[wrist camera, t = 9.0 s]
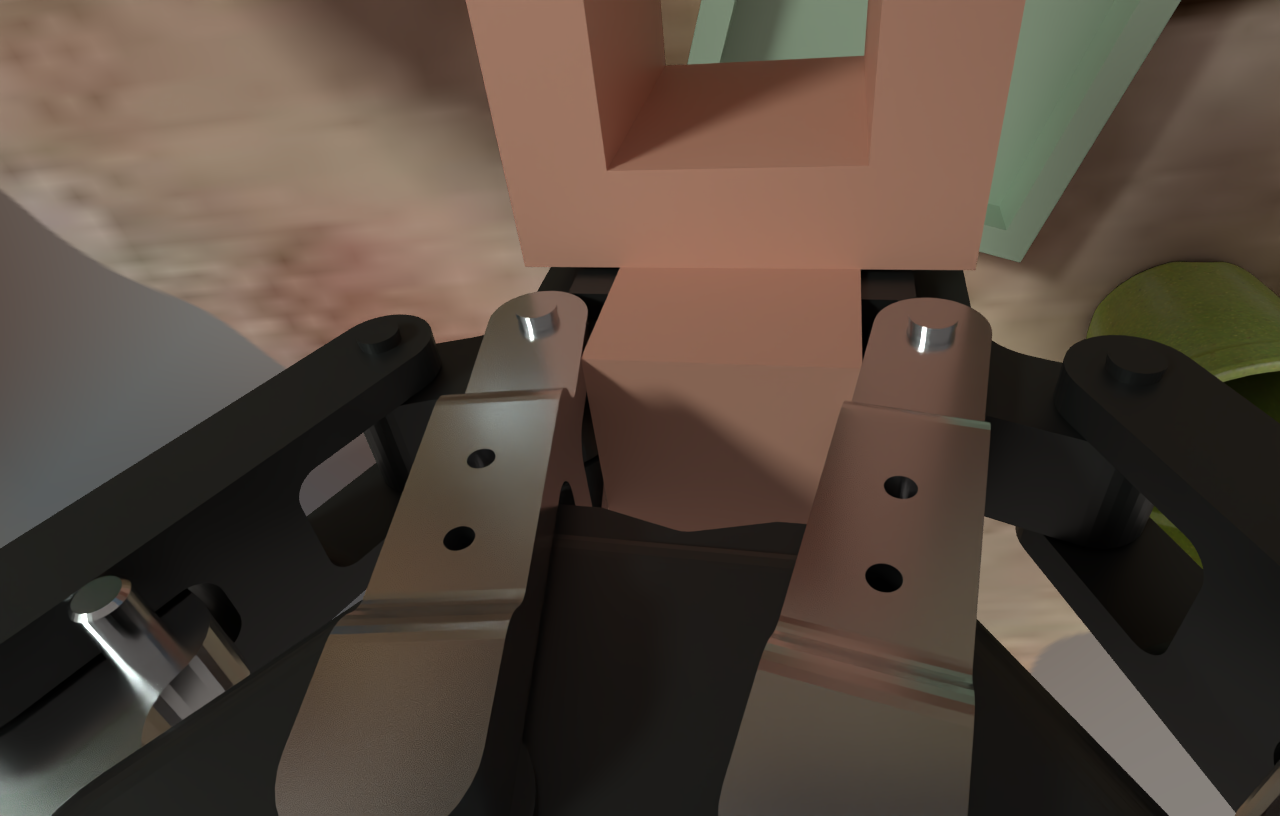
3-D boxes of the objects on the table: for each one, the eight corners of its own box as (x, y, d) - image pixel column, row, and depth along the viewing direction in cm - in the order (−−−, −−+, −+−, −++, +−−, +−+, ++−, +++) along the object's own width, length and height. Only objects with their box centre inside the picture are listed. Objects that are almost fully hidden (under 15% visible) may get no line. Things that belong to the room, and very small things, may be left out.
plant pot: (987, 326, 32) (1021, 478, 26) (1224, 160, 26) (1343, 304, 20) (1129, 446, 35) (1191, 611, 29) (1374, 319, 29) (1522, 491, 23)
